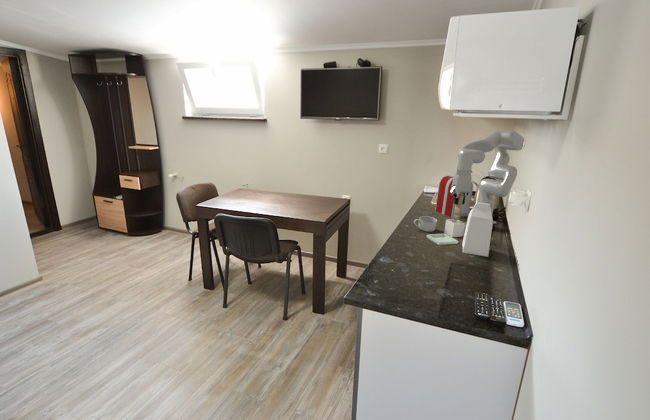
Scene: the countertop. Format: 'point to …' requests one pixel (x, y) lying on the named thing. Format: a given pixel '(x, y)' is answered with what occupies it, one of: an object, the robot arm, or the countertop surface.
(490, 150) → the robot arm
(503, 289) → the countertop surface
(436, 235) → the tray
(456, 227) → the open box
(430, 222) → the teacup
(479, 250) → the milk
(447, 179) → the red and white block
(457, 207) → the dowel
